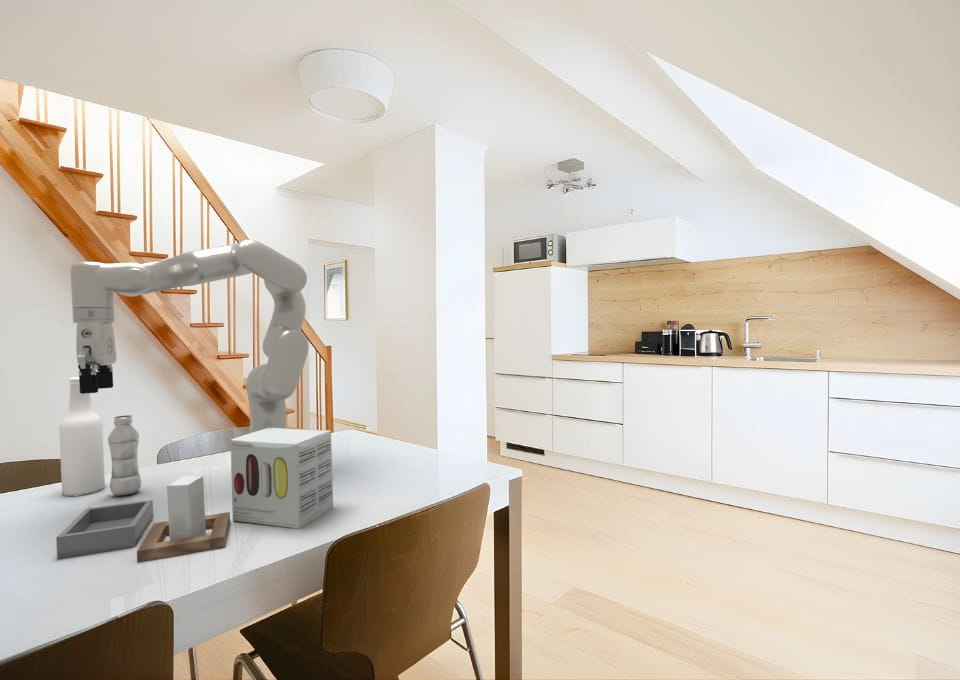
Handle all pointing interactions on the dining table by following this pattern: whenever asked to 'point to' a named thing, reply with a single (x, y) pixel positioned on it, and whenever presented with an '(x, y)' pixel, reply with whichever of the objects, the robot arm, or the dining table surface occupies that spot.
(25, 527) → the dining table surface
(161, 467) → the dining table surface
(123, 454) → the plastic bottle
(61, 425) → the alcohol
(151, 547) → the brown square frame
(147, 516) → the tray
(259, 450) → the supplement box
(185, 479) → the skincare box
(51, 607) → the dining table surface
